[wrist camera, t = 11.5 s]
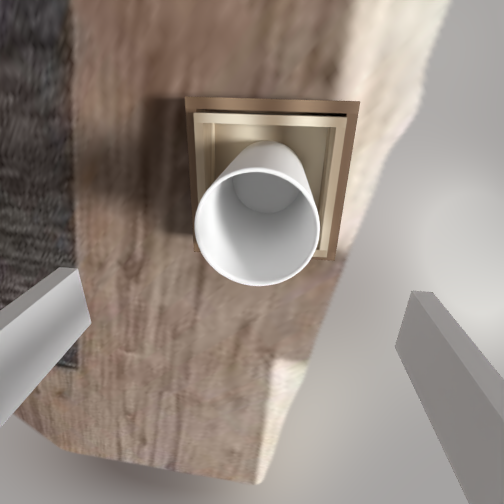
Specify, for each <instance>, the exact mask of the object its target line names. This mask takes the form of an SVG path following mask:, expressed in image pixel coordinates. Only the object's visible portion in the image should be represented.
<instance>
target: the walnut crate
mask: <svg viewBox="0 0 504 504" xmlns="http://www.w3.org/2000/svg"><path fill="white" fill-rule="evenodd" d="M359 105H360V101H325V100H289V99H253V98H218V97H185V111H186V127H187V144H188V160H189V176H190V193H191V209H192V225H193V242H194V252H201V251H200V249H199V246H198V244H197V241H196V236H195V225H194V223H195V215H196V211H197V208H198V191H197V171H196V152H195V132H194V113H197V112H233V113H265V114H297V115H329V116H341V117H347V123H346V129H345V136H344V143H343V150H342V157H341V163H340V170H339V177H338V184H337V190H336V197H335V204H334V211H333V218H332V224H331V231H330V238H329V245H328V251H327V257H312V258H311V259H316V260H332V261H335V254H336V248H337V242H338V236H339V230H340V223H341V217H342V211H343V205H344V199H345V192H346V186H347V180H348V174H349V167H350V161H351V155H352V149H353V143H354V136H355V130H356V124H357V118H358V112H359Z"/></svg>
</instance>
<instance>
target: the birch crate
mask: <svg viewBox="0 0 504 504" xmlns="http://www.w3.org/2000/svg"><path fill="white" fill-rule="evenodd" d="M346 123H347V117H341V116H329V115H297V114H265V113H233V112H197V113H194V132H195V152H196V171H197V191H198V205H199V203H200V200H201V198H202V197H203V195H204V193H205V192H206V191H207V189H208V188H209V187H210V186H211V185H212V184H213V182H214V181H215V180H216V179H217V178H218V177H219V176H220V175H221V173H222V172H223V171H224V170H225V169H226V168H227V167H228V166H229V165H230V163H231V162H232V161H233V160H234V159H235V158H236V157H237V156H238V155H239V154H240V152H241V151H242V150H244V149H245V148H246V147H247V146H249V145H251V144H253V143H256V142H259V141H268V140H269V141H276V142H280V143H282V144H284V145H286V146H288V147H289V148H290V149H292V150H293V151H294V152H295V153H296V155H297V156H298V158H299V159H300V161H301V163H302V166H303V169H304V172H305V175H306V178H307V181H308V184H309V187H310V190H311V193H312V196H313V199H314V202H315V205H316V208H317V211H318V215H319V222H320V233H319V240H318V244H317V247H316V250H315V252H314V254H313V256H312V257H327V251H328V245H329V238H330V231H331V224H332V218H333V211H334V204H335V197H336V190H337V184H338V177H339V170H340V163H341V157H342V150H343V143H344V136H345V129H346Z"/></svg>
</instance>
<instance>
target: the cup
mask: <svg viewBox="0 0 504 504" xmlns="http://www.w3.org/2000/svg"><path fill="white" fill-rule="evenodd" d="M194 225H195V236H196V241H197V244H198V246H199V249H200V251H201V253H202V254H203V256H204V258H205V259H206V261H207V262H208V263H209V264H210V265H211V266H212V267H213V268H214V269H215V270H216V271H217V272H219V273H220V274H221V275H223V276H225V277H226V278H228V279H230V280H232V281H235V282H238V283H241V284H245V285H251V286H267V285H273V284H277V283H280V282H283V281H285V280H287V279H289V278H291V277H293V276H294V275H296V274H297V273H298V272H300V271H301V270H302V269H303V268H304V267H305V266H306V265H307V263H308V262H309V261H310V259H311V258H312V256H313V254H314V252H315V250H316V247H317V244H318V240H319V233H320V222H319V215H318V211H317V208H316V205H315V202H314V199H313V196H312V193H311V190H310V187H309V184H308V181H307V178H306V175H305V172H304V169H303V166H302V163H301V161H300V159H299V158H298V156H297V155H296V153H295V152H294V151H293V150H292V149H290V148H289V147H288V146H286V145H284V144H282V143H280V142H276V141H269V140H268V141H259V142H256V143H253V144H251V145H249V146H247V147H246V148H245V149H244V150H242V151H241V152H240V154H239V155H238V156H237V157H236V158H235V159H234V160H233V161H232V162H231V163H230V165H229V166H228V167H227V168H226V169H225V170H224V171H223V172H222V173H221V175H220V176H219V177H218V178H217V179H216V180H215V181H214V182H213V184H212V185H211V186H210V187H209V188H208V189H207V191H206V192H205V193H204V195H203V197H202V198H201V200H200V203H199V205H198V208H197V211H196V215H195V223H194Z"/></svg>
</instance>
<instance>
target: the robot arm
mask: <svg viewBox="0 0 504 504" xmlns="http://www.w3.org/2000/svg"><path fill="white" fill-rule="evenodd" d="M90 324H91V320H90V316H89V312H88V308H87V304H86V300H85V296H84V292H83V288H82V284H81V280H80V276H79V272H78V269H76V268H61V267H59V268H58V269H57V270H55V271H54V272H53V273H51V274H50V275H49V276H47V277H46V278H44V279H43V280H42V281H40V282H39V283H38V284H36V285H35V286H34V287H32V288H31V289H29V290H28V291H27V292H25V293H24V294H23V295H21V296H20V297H18V298H17V299H16V300H14V301H13V302H12V303H10V304H9V305H8V306H6V307H5V308H3V309H2V310H1V311H0V427H1V426H2V425H3V424H4V423H5V421H7V419H8V418H9V417H10V416H11V415H12V414H13V413H14V411H15V410H16V409H17V408H18V407H19V406H20V405H21V403H22V402H23V401H24V400H25V399H26V398H27V396H28V395H29V394H30V393H31V392H32V391H33V390H34V388H35V387H36V386H37V385H38V384H39V383H40V382H41V380H42V379H43V378H44V377H45V376H46V375H47V374H48V372H49V371H50V370H51V369H52V368H53V367H54V365H55V364H56V363H57V362H58V361H59V360H60V359H61V357H62V356H63V355H64V354H65V353H66V352H67V351H68V349H69V348H70V347H71V346H72V345H73V344H74V342H75V341H76V340H77V339H78V338H79V337H80V336H81V334H82V333H83V332H84V331H85V330H86V329H87V328H88V326H89V325H90ZM395 348H396V350H397V352H398V355H399V357H400V359H401V361H402V363H403V365H404V367H405V369H406V371H407V374H408V376H409V378H410V380H411V382H412V384H413V386H414V388H415V390H416V393H417V395H418V397H419V399H420V401H421V403H422V405H423V407H424V409H425V412H426V414H427V416H428V418H429V420H430V422H431V424H432V426H433V429H434V430H435V433H436V435H437V437H438V439H439V441H440V443H441V445H442V448H443V450H444V452H445V454H446V456H447V458H448V460H449V462H450V464H451V467H452V469H453V470H454V473H455V475H456V477H457V479H458V481H459V483H460V486H461V488H462V490H463V492H464V494H465V496H466V498H467V500H468V502H469V504H504V380H503V378H502V377H501V376H500V374H499V373H498V372H497V371H496V370H495V368H494V367H493V366H492V365H491V363H490V362H489V361H488V360H487V359H486V357H485V356H484V355H483V354H482V352H481V351H480V350H479V349H478V347H477V346H476V345H475V344H474V342H473V341H472V340H471V339H470V338H469V336H468V335H467V334H466V333H465V331H464V330H463V329H462V328H461V327H460V325H459V324H458V323H457V322H456V320H455V319H454V318H453V317H452V316H451V314H450V313H449V312H448V311H447V310H446V308H445V307H444V306H443V304H442V303H441V302H440V301H439V299H438V298H437V297H436V296H435V295H434V293H433V292H421V291H411V295H410V298H409V301H408V305H407V308H406V311H405V315H404V318H403V321H402V325H401V328H400V331H399V335H398V338H397V342H396V345H395Z"/></svg>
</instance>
